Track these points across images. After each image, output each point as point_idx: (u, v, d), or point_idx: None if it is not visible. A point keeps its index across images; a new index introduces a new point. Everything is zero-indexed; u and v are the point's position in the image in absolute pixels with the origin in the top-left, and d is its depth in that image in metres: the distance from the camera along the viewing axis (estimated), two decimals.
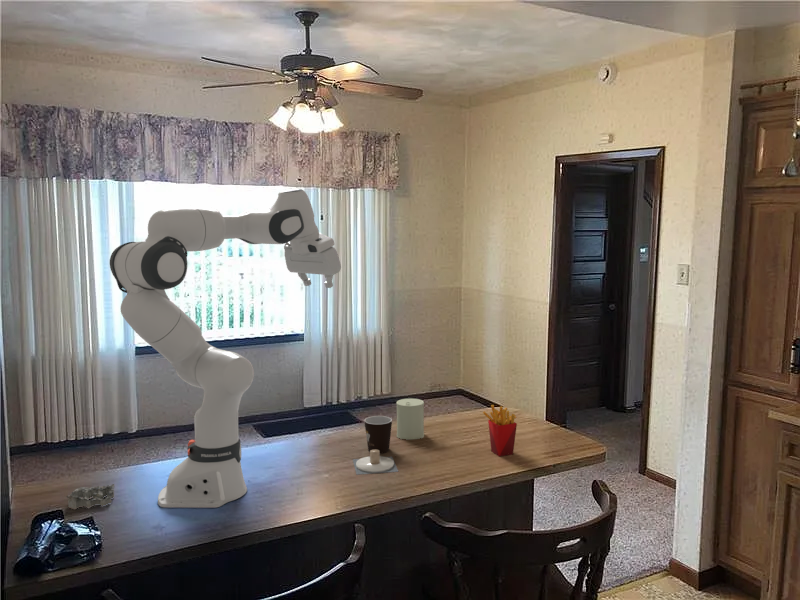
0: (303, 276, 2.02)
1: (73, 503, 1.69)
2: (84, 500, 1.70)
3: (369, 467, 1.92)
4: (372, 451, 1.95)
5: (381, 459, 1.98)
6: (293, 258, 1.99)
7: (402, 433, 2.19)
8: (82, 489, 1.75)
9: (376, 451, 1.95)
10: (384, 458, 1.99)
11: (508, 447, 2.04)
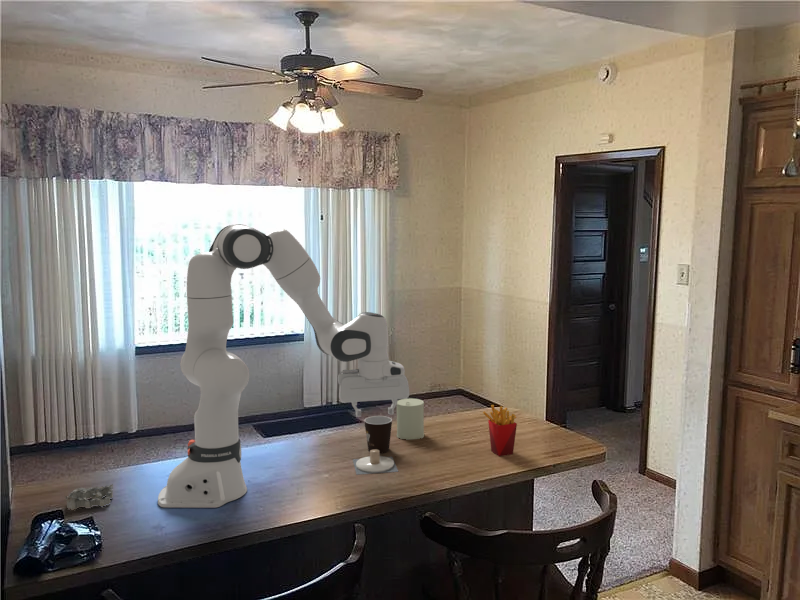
0: (355, 406, 1.93)
1: (72, 504, 1.68)
2: (83, 501, 1.70)
3: (369, 467, 1.92)
4: (372, 451, 1.95)
5: (381, 459, 1.98)
6: (354, 385, 1.90)
7: (402, 433, 2.19)
8: (80, 489, 1.75)
9: (376, 451, 1.95)
10: (384, 457, 1.99)
11: (508, 447, 2.04)
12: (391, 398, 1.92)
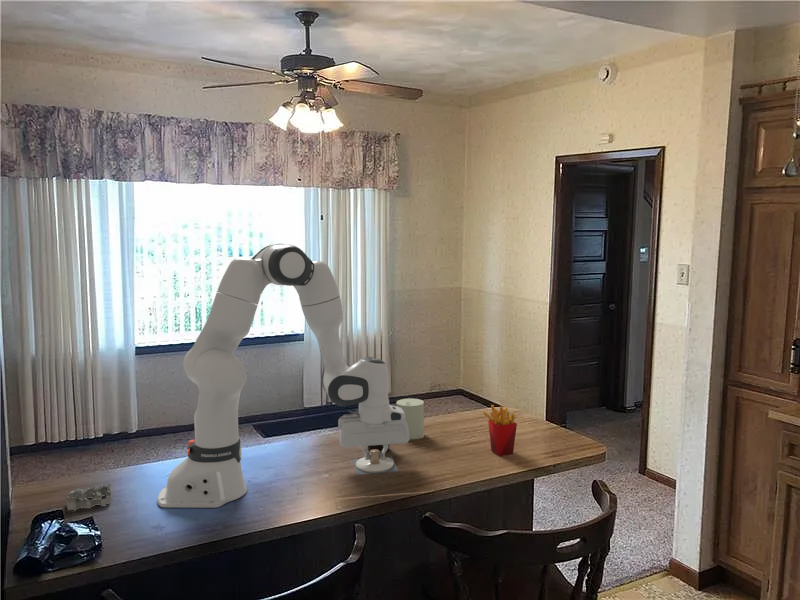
0: (365, 450, 1.95)
1: (73, 505, 1.68)
2: (83, 501, 1.70)
3: (369, 467, 1.92)
4: (372, 451, 1.95)
5: (380, 459, 1.98)
6: (355, 430, 1.92)
7: None
8: (77, 490, 1.74)
9: (376, 451, 1.95)
10: None
11: (508, 447, 2.04)
12: (391, 443, 1.94)
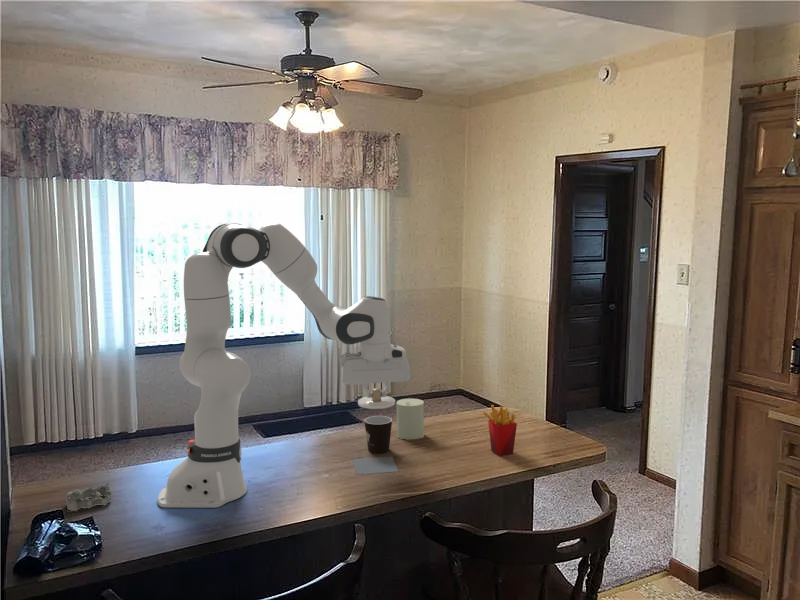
0: (366, 388, 1.97)
1: (74, 505, 1.68)
2: (84, 501, 1.70)
3: (371, 404, 1.94)
4: (374, 389, 1.97)
5: (382, 398, 2.00)
6: (356, 368, 1.94)
7: (402, 433, 2.19)
8: (75, 491, 1.74)
9: (378, 389, 1.97)
10: (386, 397, 2.02)
11: (508, 447, 2.04)
12: (392, 380, 1.96)
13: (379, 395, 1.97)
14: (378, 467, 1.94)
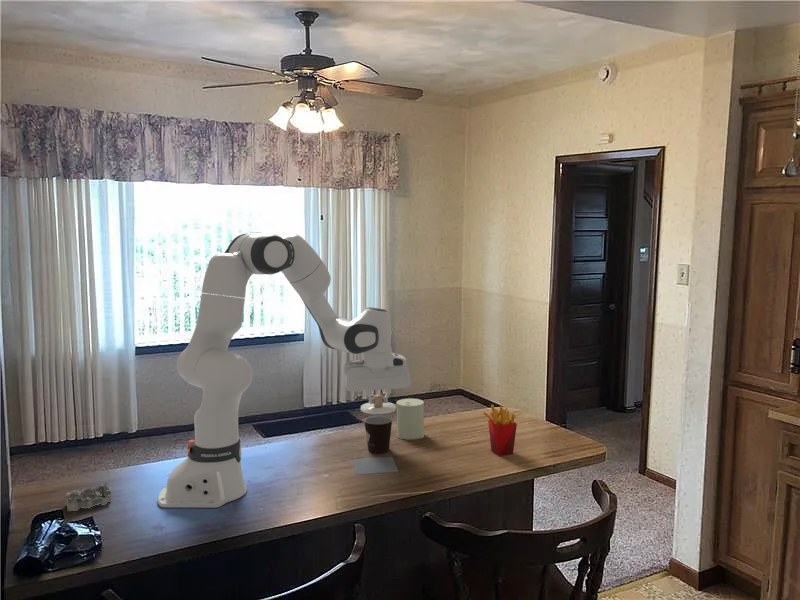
0: None
1: (75, 505, 1.68)
2: (84, 501, 1.70)
3: (373, 410, 2.05)
4: (376, 395, 2.08)
5: (384, 404, 2.11)
6: (359, 375, 2.05)
7: (402, 433, 2.19)
8: (74, 492, 1.73)
9: (379, 395, 2.08)
10: (387, 403, 2.12)
11: (508, 447, 2.04)
12: (394, 387, 2.07)
13: (381, 401, 2.07)
14: (378, 467, 1.94)
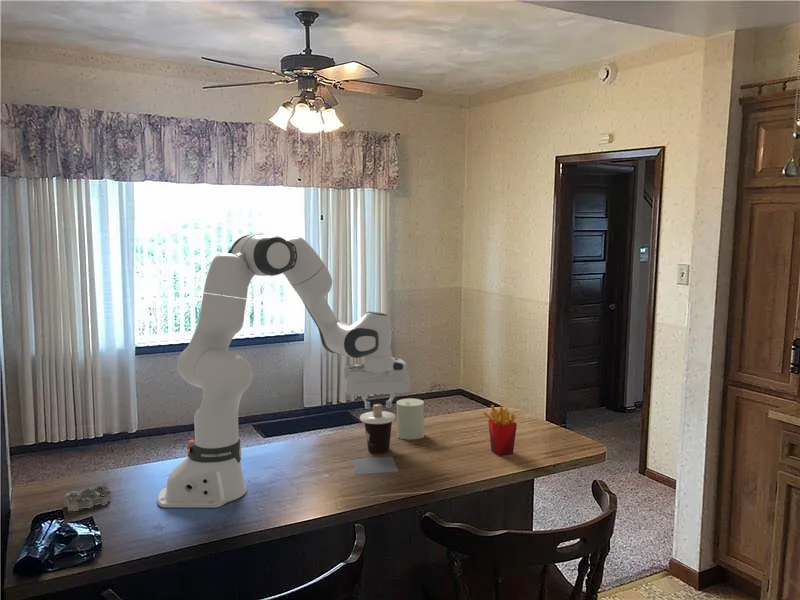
0: (365, 399, 2.07)
1: (75, 506, 1.67)
2: (85, 501, 1.70)
3: (373, 419, 2.05)
4: (375, 405, 2.08)
5: (383, 413, 2.11)
6: (359, 379, 2.05)
7: (402, 433, 2.19)
8: (73, 492, 1.73)
9: (379, 405, 2.08)
10: (386, 412, 2.12)
11: (508, 447, 2.04)
12: (393, 392, 2.07)
13: (380, 411, 2.07)
14: (378, 467, 1.94)
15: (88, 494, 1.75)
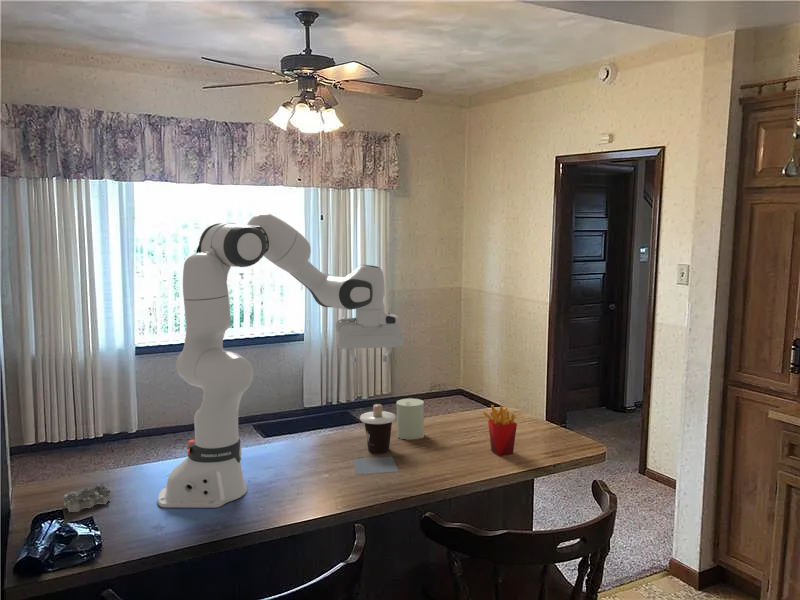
0: (352, 353, 2.06)
1: (77, 506, 1.67)
2: (85, 501, 1.70)
3: (373, 420, 2.05)
4: (375, 405, 2.08)
5: (383, 413, 2.11)
6: (351, 333, 2.03)
7: (402, 433, 2.19)
8: (71, 493, 1.73)
9: (379, 405, 2.08)
10: (386, 412, 2.12)
11: (508, 447, 2.04)
12: (386, 346, 2.05)
13: (380, 411, 2.07)
14: (378, 467, 1.94)
15: (86, 494, 1.75)
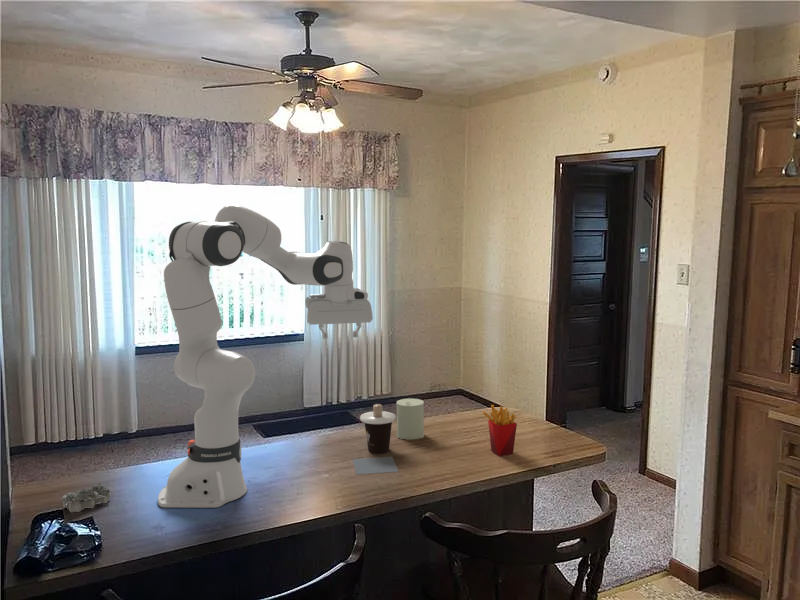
0: (322, 329, 2.07)
1: (78, 506, 1.67)
2: (86, 501, 1.70)
3: (373, 420, 2.05)
4: (375, 405, 2.08)
5: (383, 413, 2.11)
6: (321, 308, 2.05)
7: (402, 433, 2.19)
8: (69, 494, 1.72)
9: (379, 405, 2.08)
10: (386, 412, 2.12)
11: (508, 447, 2.04)
12: (355, 321, 2.07)
13: (380, 411, 2.07)
14: (378, 467, 1.94)
15: (84, 495, 1.74)
